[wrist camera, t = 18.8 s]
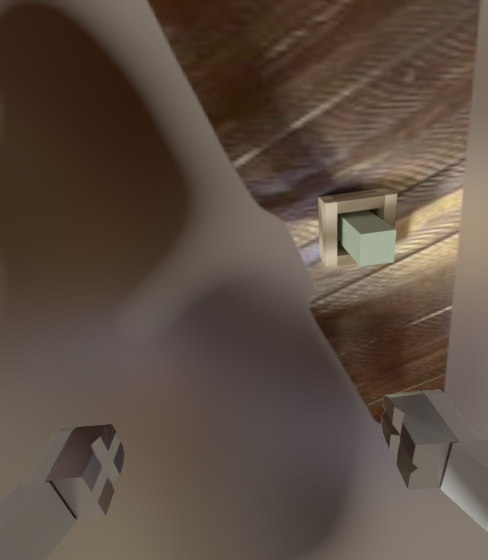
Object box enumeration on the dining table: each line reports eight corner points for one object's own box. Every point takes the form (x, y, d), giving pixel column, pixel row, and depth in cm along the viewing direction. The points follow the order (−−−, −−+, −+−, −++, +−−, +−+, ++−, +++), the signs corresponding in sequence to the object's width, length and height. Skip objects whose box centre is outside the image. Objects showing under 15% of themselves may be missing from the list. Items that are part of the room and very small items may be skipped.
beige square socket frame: (318, 196, 43) (325, 203, 40) (384, 187, 43) (397, 193, 39) (319, 256, 47) (326, 267, 44) (379, 248, 47) (391, 259, 43)
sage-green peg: (336, 211, 44) (360, 234, 35) (364, 207, 44) (396, 229, 35) (336, 238, 46) (359, 266, 37) (363, 234, 46) (393, 261, 37)
